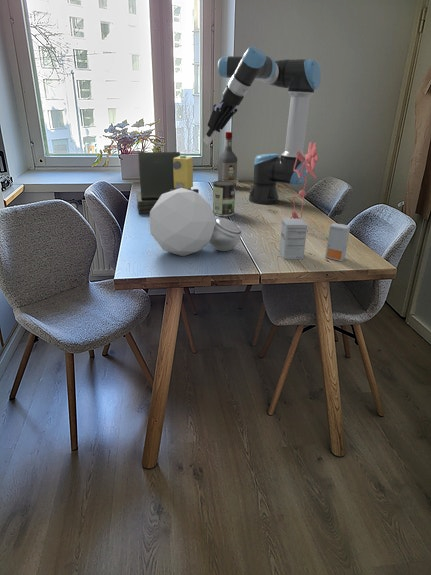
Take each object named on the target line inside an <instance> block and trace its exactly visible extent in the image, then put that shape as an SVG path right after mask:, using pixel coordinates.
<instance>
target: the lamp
mask: <svg viewBox="0 0 431 575" xmlns="http://www.w3.org/2000/svg"><path fill="white" fill-rule="evenodd" d="M148 224H149V231H150V235H151V236H152V237H153V239H154V240H155V241H156V242H157V244H158V245H159V247H161V249H162V251H164V252H168V253H170V254H175V255H178V256H182V257H185V256H189V255H191V254H194V253H196V252H199V251H201V250H203V248H204V247H206V245H208V243H209V244H210V246H211V247H212V248H214V249H215V250H216V251H217V250H218V251H220V252H228V251H231V250H234V248H236V247H237V246H238V244H239V243H240V242H241V236H242V230H241V229H240V226H239V225H238V224H237V223H235V222H234V221H232V220H230V219H228V218H225V217H224V218H223V217H219V218H216V217H215V215H214V214H213V208H212V206H211V204H210V203H209V202H208V200H206V199H205V197H204V196H203V195H202V194H200V193H197V192H194V191H191V190H187V189H184V188H179V189H176V190H173V191H170V192H167V193H164V194H162V195H161V196H160V198H159V199H158V201H157V202H156V204H155V205H154V207H153V208H152V210H151V211H150V214H149V222H148Z"/></svg>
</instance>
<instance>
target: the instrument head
mask: <svg viewBox="0 0 431 575" xmlns="http://www.w3.org/2000/svg"><path fill="white" fill-rule="evenodd" d="M193 158H194V157H193V156H186V155H183V154H182V155H181V154H180V156H178V157H175V158H173V172H174V188H176V183H182V184H183V188H184V189H189V188H191V189H192V188H193V187H194V166H193V165H194V162H193V161H194V159H193Z"/></svg>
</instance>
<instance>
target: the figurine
mask: <svg viewBox="0 0 431 575" xmlns="http://www.w3.org/2000/svg"><path fill="white" fill-rule="evenodd" d="M317 150H318V148H317V142H314V143H313V142H312V141H310V142H309V143H308V147H307V153H306V154H304V155H305V162H304V157H303V155H302V154H301V153H300V151H298V152H297V157H296V161H295V165H294V169H293V171H296V172H297V173H298V177H299V179H300V177H301V175H302V172H303V170H304V167H306V173H307V175H308V174H310V176H311V177H313V179H315V180H316V181H317V180H318V178H317V176H316V174H315V169H316V163H317V162H318V161H319V154H318V153H317ZM297 158H298V159H299V160H300V162H301V163H303V162H304V163H303V165H304V166H303V165H302V166H301V167H300V169H301V168H302V167H303V169H302V171H301V173H300V172H299V171H300V169H299V170H295V166H296V162H297ZM306 162H307V164H306ZM299 174H300V176H299ZM302 176H303V177H304V178H305V179H304V181H305V182H304V186H303V189H300V190H299V192H298V194H297V195H293V197H292V200H293V201H292V202H293V211H292V212H291V217H290V218H289V219H302V217H303V206H304V199H305V196H306V193H307V192H306V191H305V188H306V185H307V182H308V178H307V176H306V177H305V176H304V175H302ZM298 196H300V197H302V200H301V201H302V202H301V211H300V216H299V215H298V213H297V212H296V206H295V198H296V197H298ZM305 221H306V222H307V220H304V222H305ZM308 222H310V223H311V221H310V220H308ZM312 223H313V224H316V222H314V221H312ZM321 228H323V225H321ZM307 233H309V230H308V229H307Z"/></svg>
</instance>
